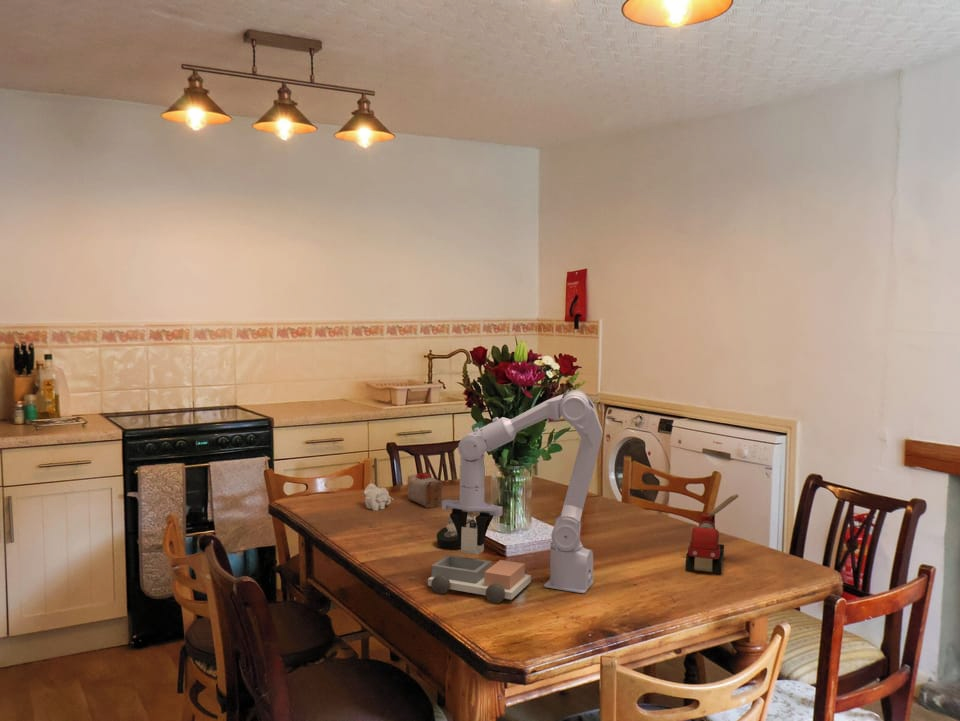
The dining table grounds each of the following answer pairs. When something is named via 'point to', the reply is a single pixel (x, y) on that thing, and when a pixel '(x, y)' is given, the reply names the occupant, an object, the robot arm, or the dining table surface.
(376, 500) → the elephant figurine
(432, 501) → the food item
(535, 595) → the dining table surface
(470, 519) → the caster wheel
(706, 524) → the toy fire truck
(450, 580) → the chassis
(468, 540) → the block
